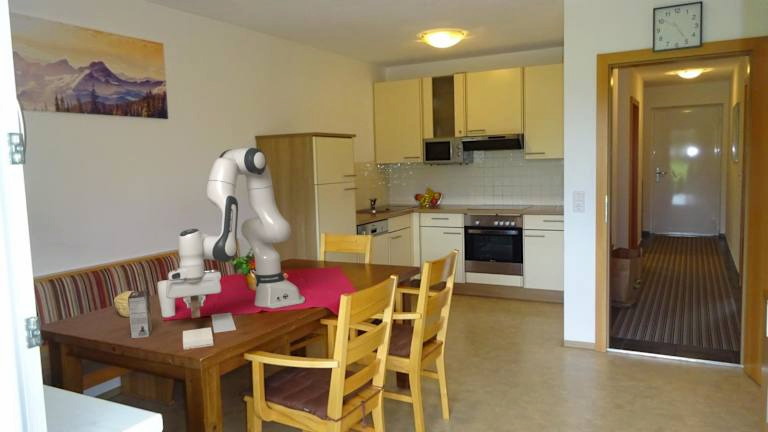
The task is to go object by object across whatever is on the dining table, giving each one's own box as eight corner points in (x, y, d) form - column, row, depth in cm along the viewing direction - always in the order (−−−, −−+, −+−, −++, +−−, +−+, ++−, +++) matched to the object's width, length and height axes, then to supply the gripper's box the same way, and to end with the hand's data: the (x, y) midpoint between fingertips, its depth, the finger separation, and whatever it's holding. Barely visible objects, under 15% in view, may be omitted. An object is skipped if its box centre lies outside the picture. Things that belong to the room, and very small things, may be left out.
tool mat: (230, 313, 239) (230, 312, 239) (236, 331, 214) (236, 329, 214) (211, 316, 236) (211, 315, 236) (214, 334, 212) (214, 332, 212)
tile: (210, 327, 212) (212, 338, 199) (211, 335, 212) (213, 346, 199) (182, 331, 209) (182, 342, 196) (183, 338, 209) (183, 350, 196)
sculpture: (111, 317, 240) (108, 293, 239) (134, 310, 251) (132, 286, 250) (130, 320, 236) (127, 295, 234) (152, 312, 246) (150, 288, 245)
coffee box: (134, 331, 219) (131, 291, 217) (152, 329, 221) (148, 289, 219) (131, 339, 210) (127, 297, 208) (149, 336, 212) (146, 295, 210)
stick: (198, 303, 228) (198, 294, 228) (200, 316, 207) (199, 306, 207) (191, 304, 227) (190, 295, 227) (191, 318, 206) (190, 307, 206)
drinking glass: (171, 318, 235) (168, 283, 233) (156, 318, 236) (153, 283, 235) (180, 314, 241) (177, 280, 240) (166, 313, 243) (163, 279, 241)
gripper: (220, 267, 222) (222, 301, 224) (164, 272, 215) (167, 308, 217) (220, 270, 216) (223, 305, 218) (164, 276, 209) (167, 312, 211)
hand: (195, 306), depth 217 cm, fingers closed on stick, 3 cm apart
